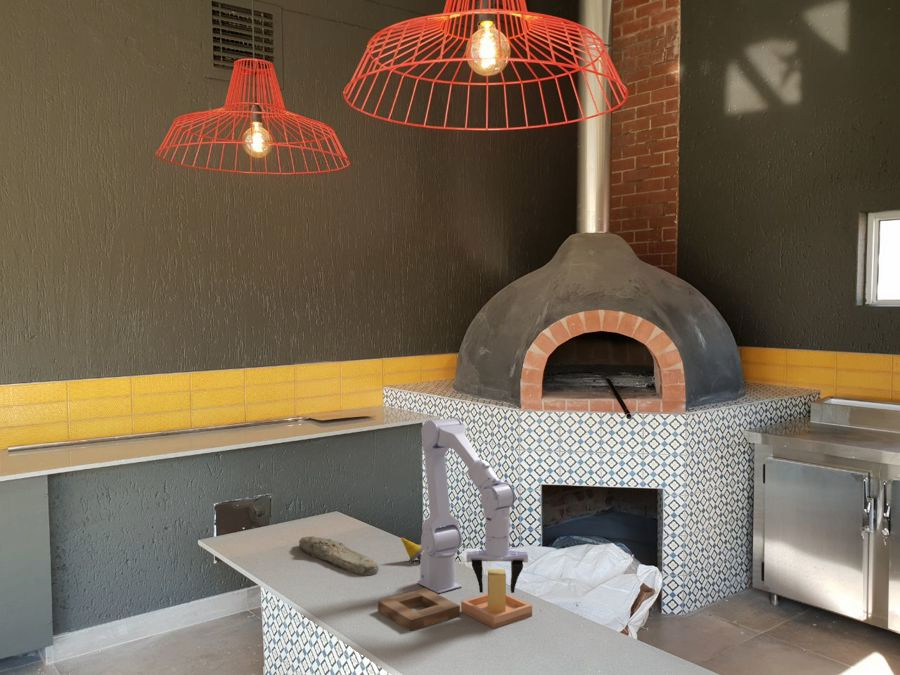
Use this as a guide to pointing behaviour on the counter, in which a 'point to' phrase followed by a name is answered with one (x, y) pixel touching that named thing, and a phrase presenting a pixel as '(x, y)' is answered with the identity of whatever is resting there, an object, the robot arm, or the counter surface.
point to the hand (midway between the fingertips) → (496, 591)
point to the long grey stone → (338, 555)
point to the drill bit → (412, 549)
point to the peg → (496, 591)
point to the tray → (513, 613)
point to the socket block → (412, 620)
